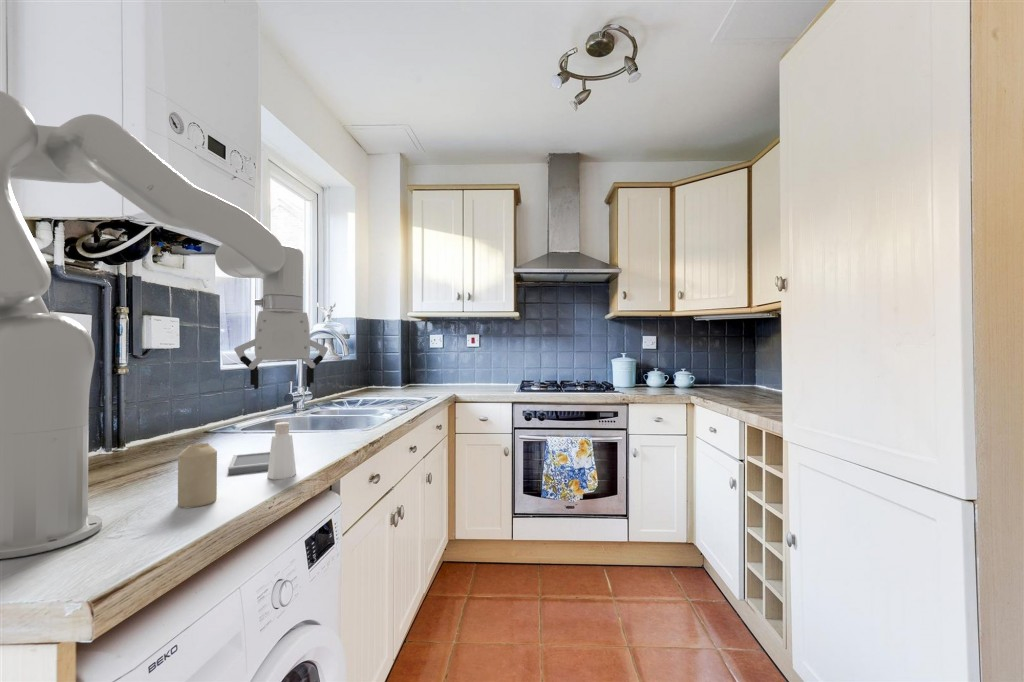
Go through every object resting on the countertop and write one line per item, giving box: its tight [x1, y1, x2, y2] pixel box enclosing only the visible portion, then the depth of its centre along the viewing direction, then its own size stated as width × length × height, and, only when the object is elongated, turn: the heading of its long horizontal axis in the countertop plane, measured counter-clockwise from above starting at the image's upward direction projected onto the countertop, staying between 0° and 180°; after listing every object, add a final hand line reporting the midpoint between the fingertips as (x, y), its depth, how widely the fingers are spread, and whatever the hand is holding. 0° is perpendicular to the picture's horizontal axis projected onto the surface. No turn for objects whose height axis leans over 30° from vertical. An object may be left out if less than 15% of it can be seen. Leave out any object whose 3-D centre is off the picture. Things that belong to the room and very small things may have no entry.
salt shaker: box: [266, 421, 297, 481], centre depth 93 cm, size 5×5×11 cm
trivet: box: [227, 451, 270, 476], centre depth 102 cm, size 12×12×2 cm
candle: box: [177, 442, 218, 509], centre depth 78 cm, size 6×6×10 cm
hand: (282, 387), depth 94 cm, fingers open, 9 cm apart
